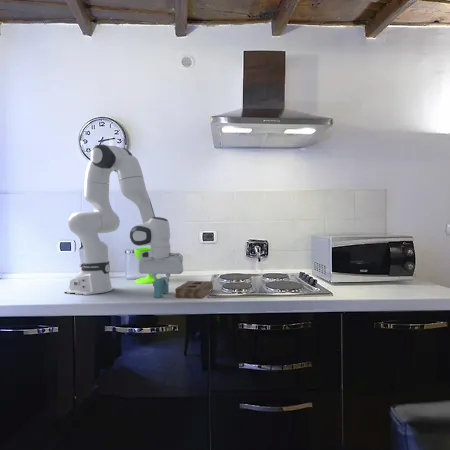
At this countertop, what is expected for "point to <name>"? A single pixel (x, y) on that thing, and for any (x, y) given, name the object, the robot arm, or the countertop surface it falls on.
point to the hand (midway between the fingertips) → (161, 283)
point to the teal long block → (160, 287)
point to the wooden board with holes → (193, 289)
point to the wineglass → (149, 277)
